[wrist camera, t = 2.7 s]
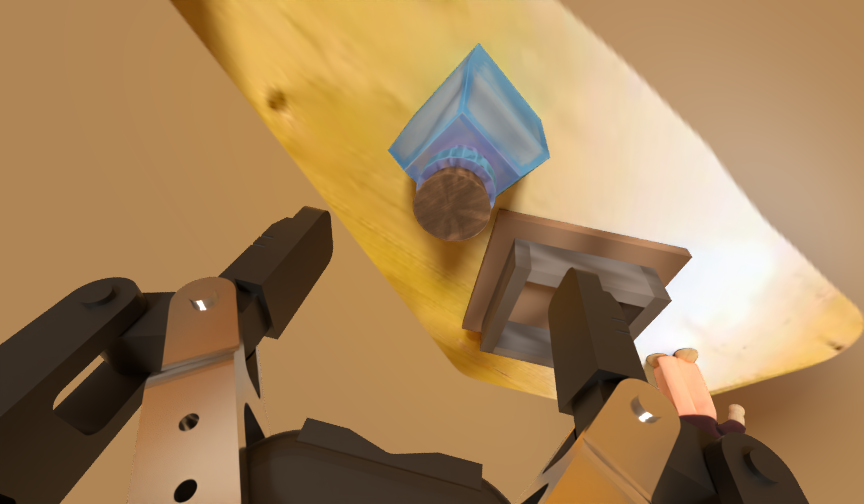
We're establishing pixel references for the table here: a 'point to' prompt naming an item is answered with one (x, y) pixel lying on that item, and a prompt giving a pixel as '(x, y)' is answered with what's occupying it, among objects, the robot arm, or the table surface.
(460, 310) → the table surface
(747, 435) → the robot arm
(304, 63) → the table surface
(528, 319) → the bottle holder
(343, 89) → the table surface
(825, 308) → the table surface
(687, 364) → the grandmother figurine
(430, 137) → the perfume bottle
